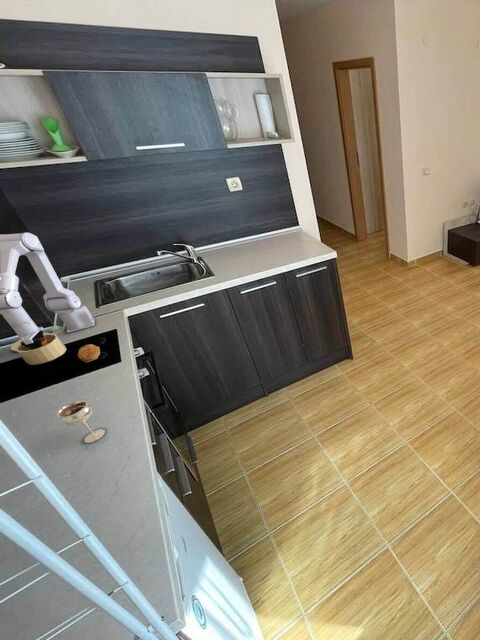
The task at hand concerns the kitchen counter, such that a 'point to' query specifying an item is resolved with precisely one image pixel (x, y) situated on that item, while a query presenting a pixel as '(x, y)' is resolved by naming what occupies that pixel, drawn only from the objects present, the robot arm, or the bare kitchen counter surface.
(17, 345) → the pot lid
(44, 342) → the cup
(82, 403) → the wineglass
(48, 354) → the pot
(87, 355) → the pastry
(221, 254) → the kitchen counter surface
